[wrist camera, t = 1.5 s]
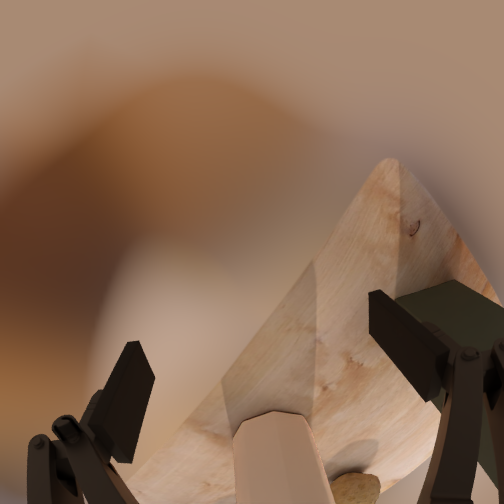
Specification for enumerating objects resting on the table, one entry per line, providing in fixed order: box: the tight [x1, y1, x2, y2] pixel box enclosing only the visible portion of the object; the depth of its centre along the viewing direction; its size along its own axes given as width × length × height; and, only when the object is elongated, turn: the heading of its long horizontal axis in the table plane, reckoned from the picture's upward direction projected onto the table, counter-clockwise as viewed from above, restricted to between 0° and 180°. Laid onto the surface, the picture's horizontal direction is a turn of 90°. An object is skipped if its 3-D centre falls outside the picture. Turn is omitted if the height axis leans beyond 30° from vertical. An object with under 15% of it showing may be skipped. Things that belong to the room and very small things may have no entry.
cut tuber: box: [330, 472, 381, 504], centre depth 36 cm, size 10×10×10 cm
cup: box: [233, 411, 335, 504], centre depth 26 cm, size 11×11×18 cm
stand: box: [395, 280, 504, 489], centre depth 19 cm, size 8×10×27 cm
